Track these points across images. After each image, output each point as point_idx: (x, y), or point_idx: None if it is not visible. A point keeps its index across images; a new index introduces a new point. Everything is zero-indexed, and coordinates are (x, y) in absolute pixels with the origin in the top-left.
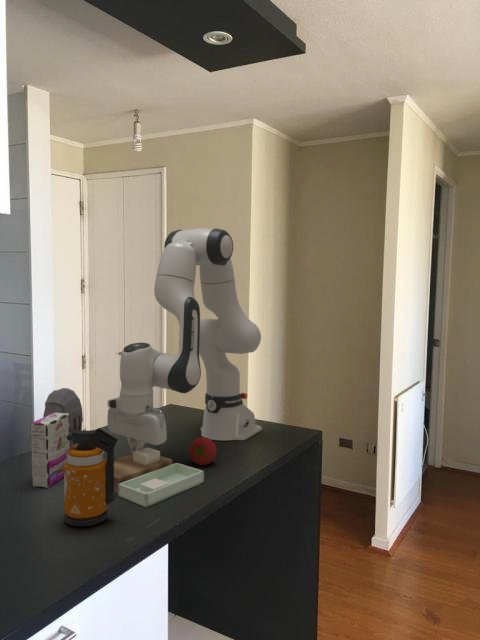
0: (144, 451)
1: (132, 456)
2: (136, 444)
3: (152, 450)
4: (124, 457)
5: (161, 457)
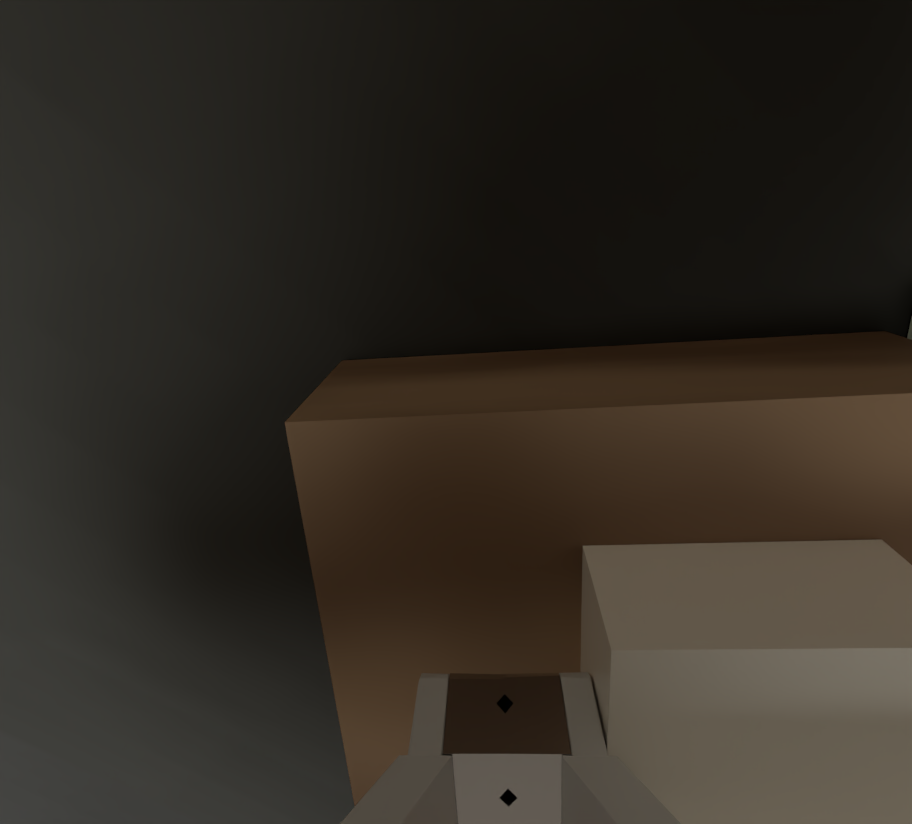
0: (750, 803)
1: (427, 664)
2: (430, 781)
3: (837, 699)
4: (390, 742)
5: (814, 439)
